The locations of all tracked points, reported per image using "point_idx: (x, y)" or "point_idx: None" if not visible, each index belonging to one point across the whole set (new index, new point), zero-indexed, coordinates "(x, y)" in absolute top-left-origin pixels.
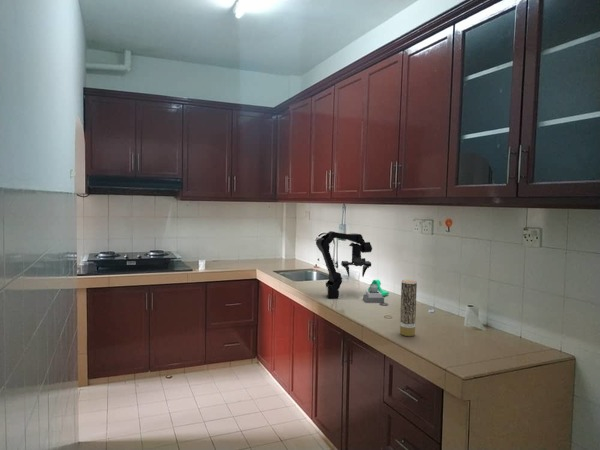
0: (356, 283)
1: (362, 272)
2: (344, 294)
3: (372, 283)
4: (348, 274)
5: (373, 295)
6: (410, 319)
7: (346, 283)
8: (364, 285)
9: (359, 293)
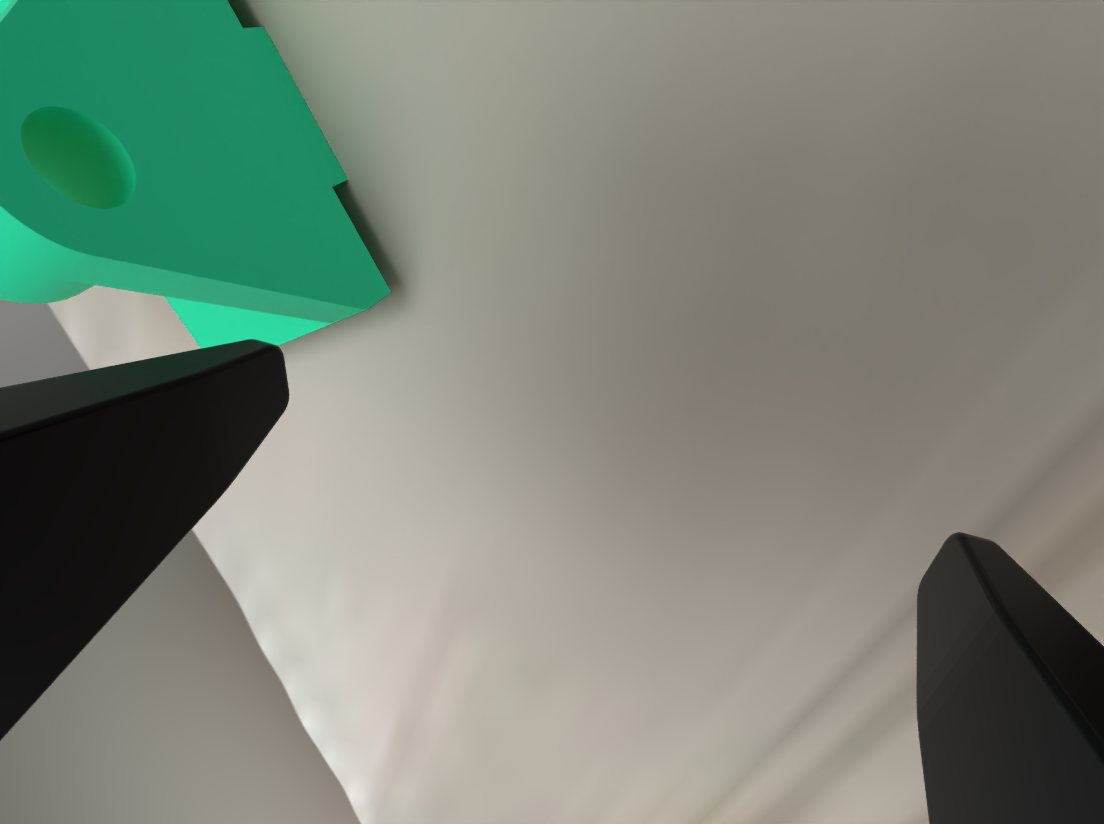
0: (421, 766)
1: (149, 553)
2: (919, 337)
3: (154, 236)
4: (1088, 649)
5: None
6: None
7: (535, 812)
8: (351, 676)
9: (550, 333)
